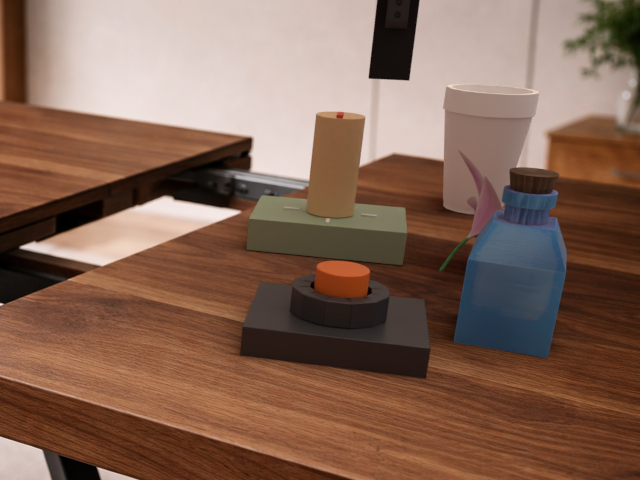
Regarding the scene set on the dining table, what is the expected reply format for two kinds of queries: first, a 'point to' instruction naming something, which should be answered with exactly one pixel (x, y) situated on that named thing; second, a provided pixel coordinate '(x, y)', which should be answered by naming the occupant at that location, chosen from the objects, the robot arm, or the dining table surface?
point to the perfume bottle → (516, 271)
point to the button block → (338, 329)
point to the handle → (335, 164)
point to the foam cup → (483, 137)
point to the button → (342, 279)
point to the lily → (478, 205)
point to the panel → (328, 231)
